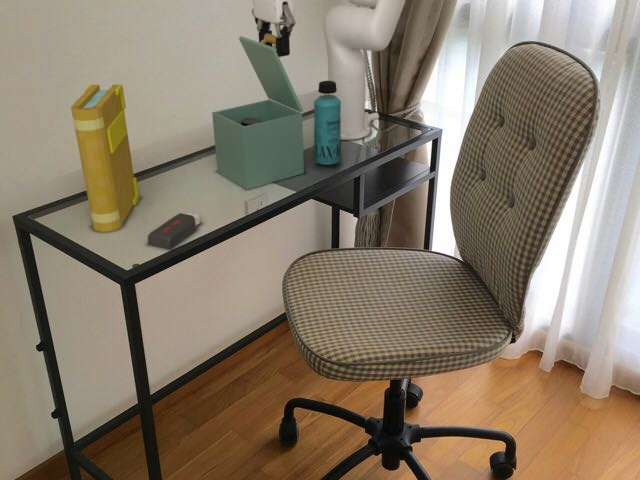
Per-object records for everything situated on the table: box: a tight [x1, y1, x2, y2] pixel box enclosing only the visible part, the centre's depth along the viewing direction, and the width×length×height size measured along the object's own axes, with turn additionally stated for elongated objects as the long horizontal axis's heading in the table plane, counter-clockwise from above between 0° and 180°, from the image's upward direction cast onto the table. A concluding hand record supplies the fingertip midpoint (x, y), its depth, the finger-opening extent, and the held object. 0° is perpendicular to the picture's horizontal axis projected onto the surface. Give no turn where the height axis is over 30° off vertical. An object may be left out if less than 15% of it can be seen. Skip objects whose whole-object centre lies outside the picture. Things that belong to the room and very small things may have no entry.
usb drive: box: [147, 212, 201, 250], centre depth 157 cm, size 5×12×3 cm, turn 154°
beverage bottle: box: [313, 80, 342, 166], centre depth 182 cm, size 6×7×20 cm
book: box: [70, 84, 140, 233], centre depth 160 cm, size 17×7×25 cm, turn 178°
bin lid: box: [238, 33, 304, 113], centre depth 176 cm, size 16×14×6 cm
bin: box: [211, 98, 305, 190], centre depth 181 cm, size 16×14×14 cm
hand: (274, 52), depth 173 cm, fingers closed on bin lid, 6 cm apart
